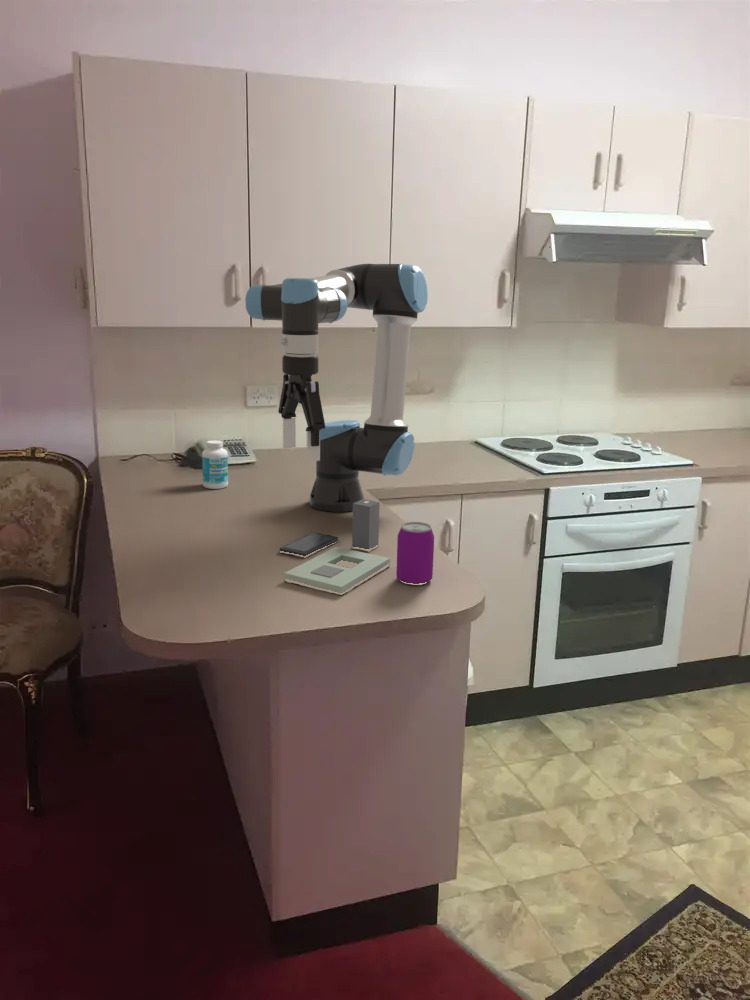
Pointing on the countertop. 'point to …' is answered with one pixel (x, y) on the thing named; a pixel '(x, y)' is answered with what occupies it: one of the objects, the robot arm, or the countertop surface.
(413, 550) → the beverage can
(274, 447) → the countertop surface
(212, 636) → the countertop surface
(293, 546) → the phone
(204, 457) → the pill bottle
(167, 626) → the countertop surface
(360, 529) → the brick
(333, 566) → the outlet plate
